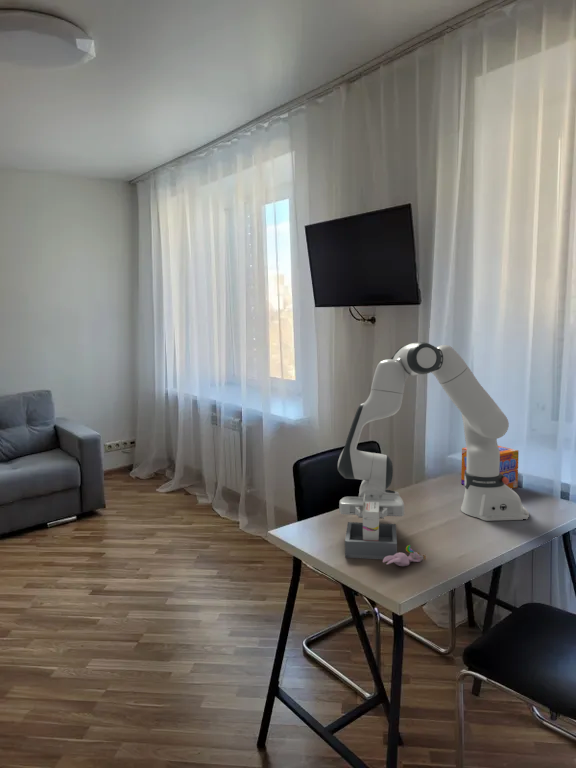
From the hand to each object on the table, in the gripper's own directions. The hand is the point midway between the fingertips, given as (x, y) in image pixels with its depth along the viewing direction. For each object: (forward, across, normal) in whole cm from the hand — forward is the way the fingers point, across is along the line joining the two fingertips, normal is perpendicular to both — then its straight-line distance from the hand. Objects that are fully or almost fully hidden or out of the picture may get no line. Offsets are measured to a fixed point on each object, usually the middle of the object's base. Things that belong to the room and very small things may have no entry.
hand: (371, 515), depth 166 cm
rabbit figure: (+10, +9, +11) cm, 17 cm away
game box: (-66, +46, +11) cm, 81 cm away
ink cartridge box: (-1, 0, +9) cm, 9 cm away
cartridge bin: (0, 0, +10) cm, 10 cm away
